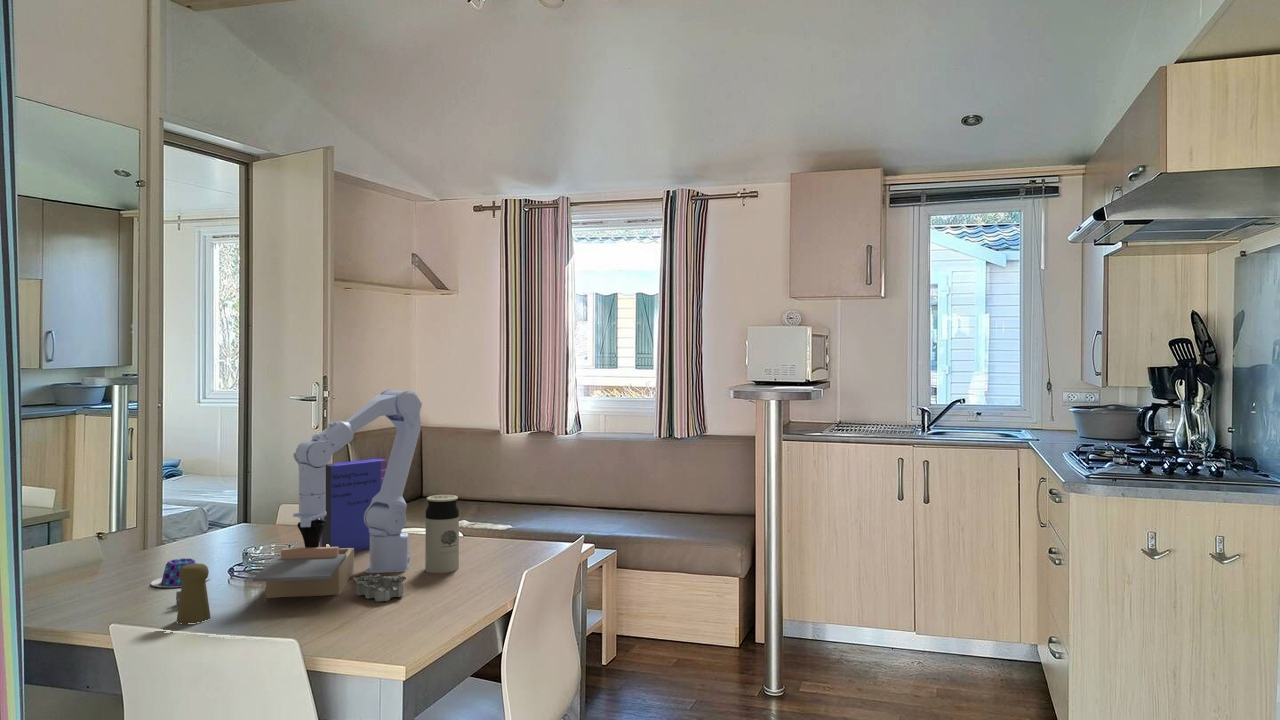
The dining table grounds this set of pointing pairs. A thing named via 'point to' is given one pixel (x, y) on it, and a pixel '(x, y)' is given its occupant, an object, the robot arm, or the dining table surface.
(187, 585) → the cork
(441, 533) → the travel mug
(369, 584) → the egg carton
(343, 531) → the blue book
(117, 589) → the dining table surface
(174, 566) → the purple spotted hat
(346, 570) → the mailer box
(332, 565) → the lid
